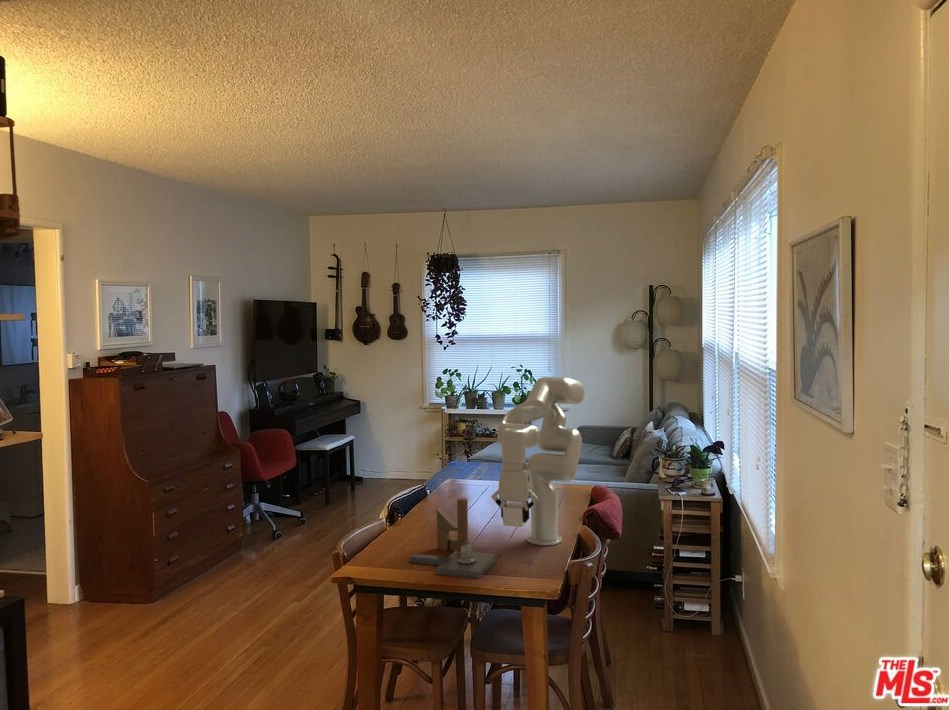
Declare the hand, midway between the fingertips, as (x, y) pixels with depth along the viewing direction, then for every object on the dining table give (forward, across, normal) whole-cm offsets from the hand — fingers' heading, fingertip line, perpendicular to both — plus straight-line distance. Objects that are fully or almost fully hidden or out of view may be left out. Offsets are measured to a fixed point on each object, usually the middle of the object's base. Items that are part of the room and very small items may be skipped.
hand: (515, 520), depth 224 cm
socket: (+1, 0, 0) cm, 1 cm away
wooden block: (+15, +24, -6) cm, 29 cm away
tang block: (+14, +20, +9) cm, 26 cm away
